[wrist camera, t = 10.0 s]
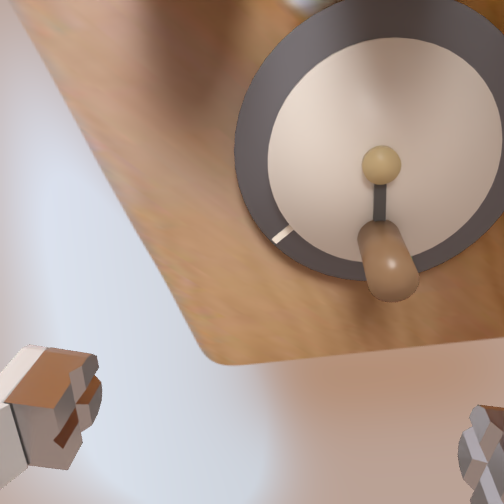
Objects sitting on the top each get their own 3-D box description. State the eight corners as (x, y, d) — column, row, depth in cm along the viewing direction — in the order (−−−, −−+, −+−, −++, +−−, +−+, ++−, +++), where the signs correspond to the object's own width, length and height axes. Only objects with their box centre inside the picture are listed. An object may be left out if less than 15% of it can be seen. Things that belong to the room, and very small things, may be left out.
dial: (258, 52, 28) (244, 61, 22) (511, 22, 26) (579, 22, 19) (280, 281, 36) (274, 337, 29) (476, 273, 33) (517, 332, 27)
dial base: (284, -53, 27) (283, -57, 25) (589, 47, 27) (606, 49, 26) (210, 230, 36) (206, 239, 35) (439, 300, 37) (444, 311, 35)
